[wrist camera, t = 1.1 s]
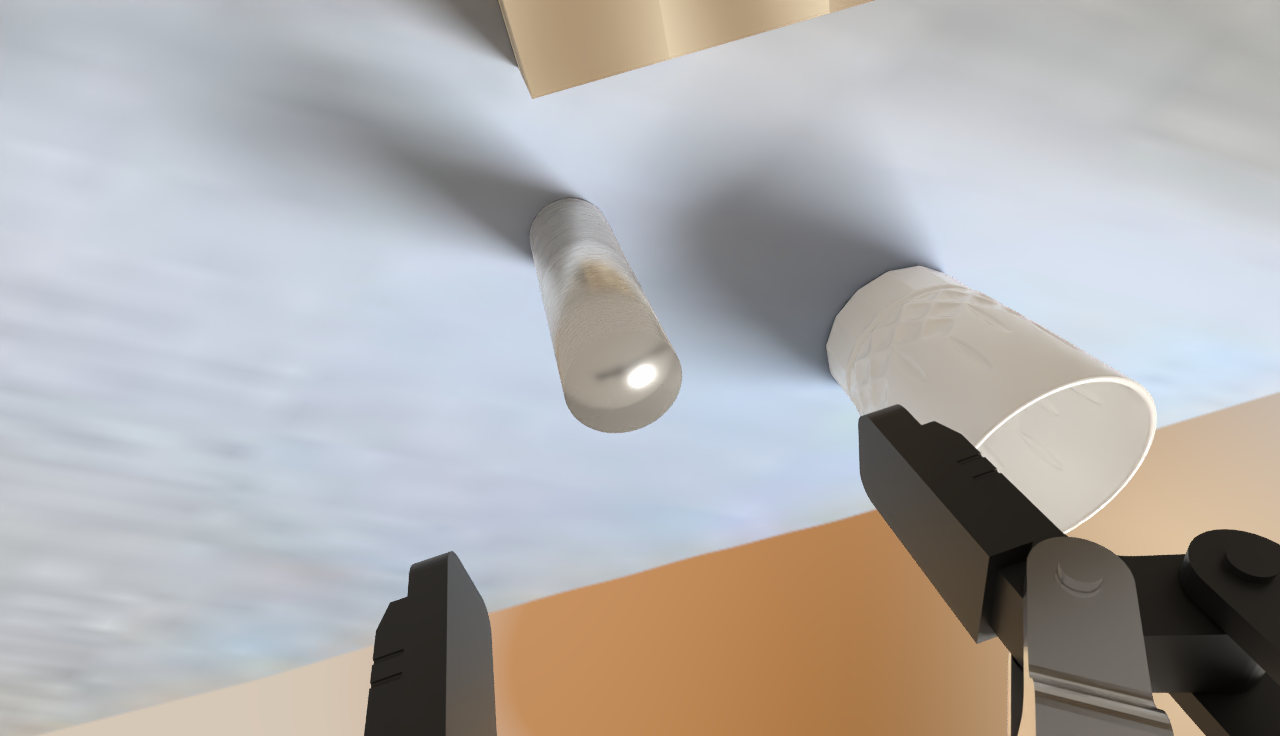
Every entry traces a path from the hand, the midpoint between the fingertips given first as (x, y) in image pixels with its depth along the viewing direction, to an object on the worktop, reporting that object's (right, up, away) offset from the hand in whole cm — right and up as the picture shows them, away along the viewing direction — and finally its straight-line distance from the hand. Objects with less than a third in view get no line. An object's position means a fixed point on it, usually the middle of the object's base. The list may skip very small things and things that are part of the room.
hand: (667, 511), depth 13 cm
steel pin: (-3, +8, +12) cm, 15 cm away
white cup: (+11, +4, +18) cm, 22 cm away
